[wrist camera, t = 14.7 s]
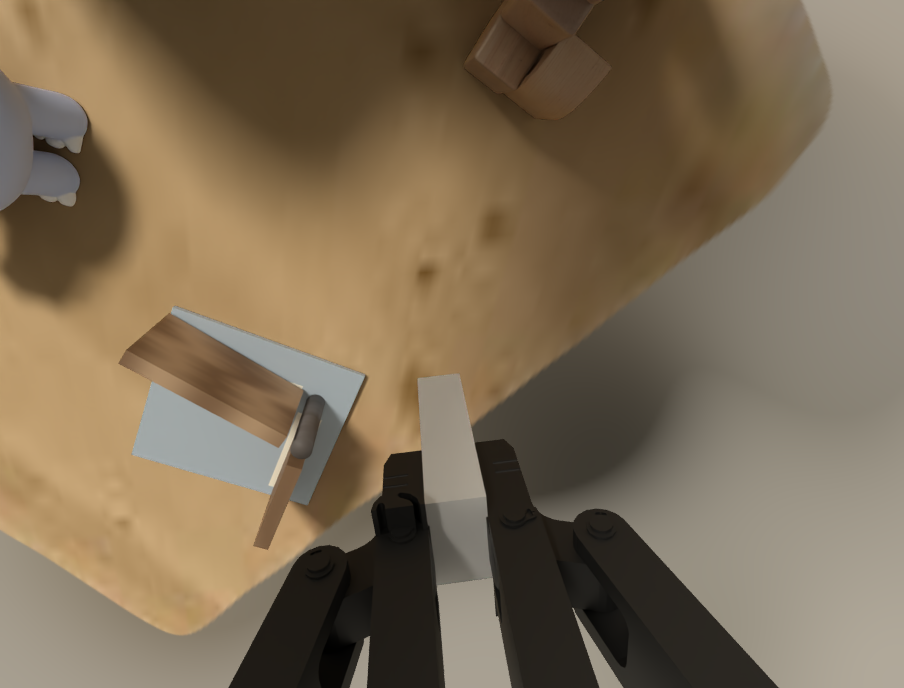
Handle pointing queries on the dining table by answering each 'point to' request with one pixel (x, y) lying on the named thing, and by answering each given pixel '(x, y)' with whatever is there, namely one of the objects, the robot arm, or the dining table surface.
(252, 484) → the card
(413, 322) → the dining table surface
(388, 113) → the dining table surface
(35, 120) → the hippopotamus toy
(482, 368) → the dining table surface
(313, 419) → the fence fixed
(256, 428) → the fence panel
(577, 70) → the wooden toy
